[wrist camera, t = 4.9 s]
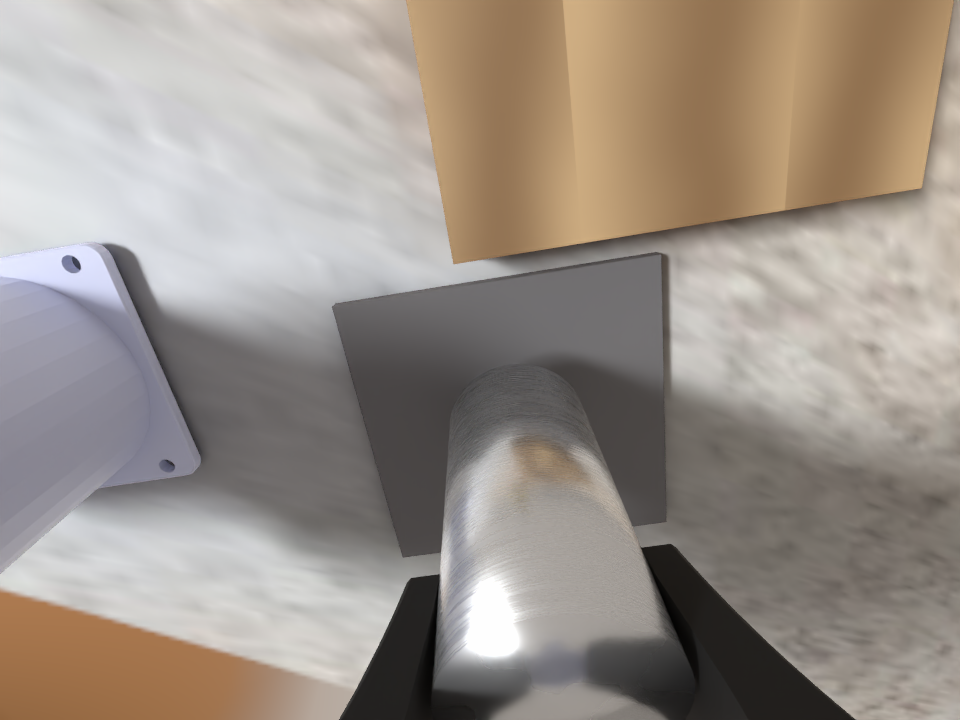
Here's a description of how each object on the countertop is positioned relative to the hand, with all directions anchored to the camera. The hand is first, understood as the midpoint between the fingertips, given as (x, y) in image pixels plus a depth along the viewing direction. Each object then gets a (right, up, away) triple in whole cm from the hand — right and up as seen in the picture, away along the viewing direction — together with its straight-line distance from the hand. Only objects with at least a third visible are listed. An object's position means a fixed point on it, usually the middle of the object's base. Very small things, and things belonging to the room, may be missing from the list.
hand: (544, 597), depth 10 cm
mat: (0, +3, +7) cm, 8 cm away
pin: (0, +3, +5) cm, 5 cm away
